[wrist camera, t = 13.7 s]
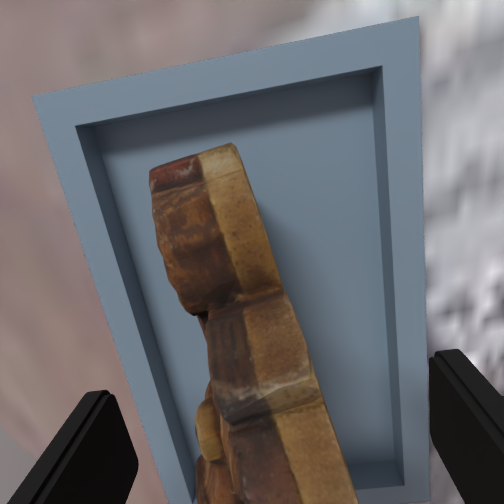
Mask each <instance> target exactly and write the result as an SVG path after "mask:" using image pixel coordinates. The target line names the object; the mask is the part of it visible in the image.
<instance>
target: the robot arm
mask: <svg viewBox="0 0 504 504" xmlns="http://www.w3.org/2000/svg"><path fill="white" fill-rule="evenodd" d="M429 401H430V434H431V438H432V442H433V444H434V446H435V448H436V450H437V452H438V454H439V456H440V458H441V459H442V461H443V463H444V465H445V467H446V469H447V471H448V472H449V474H450V476H451V478H452V480H453V482H454V484H455V486H456V487H457V489H458V491H459V493H460V495H461V497H462V499H463V500H464V502H465V504H504V396H501V395H500V394H499V393H498V392H497V390H496V389H495V388H494V387H493V386H492V385H491V384H490V383H489V382H488V380H487V379H486V378H485V377H484V376H483V375H482V374H481V373H480V372H479V370H478V369H477V368H476V367H475V366H474V365H473V364H472V363H471V362H470V360H469V359H468V358H467V357H466V356H465V355H464V354H463V353H462V352H461V351H460V350H459V349H451V350H443V351H437V352H435V357H431V358H429ZM137 472H138V458H137V455H136V452H135V450H134V447H133V444H132V441H131V439H130V436H129V433H128V430H127V428H126V425H125V422H124V419H123V417H122V414H121V411H120V408H119V406H118V403H117V400H116V398H115V396H114V395H113V394H110V392H109V391H108V390H101V391H92V392H87V393H86V394H85V395H84V396H83V398H82V399H81V400H80V402H79V403H78V405H77V406H76V407H75V409H74V410H73V412H72V413H71V414H70V416H69V417H68V419H67V420H66V421H65V423H64V424H63V426H62V427H61V428H60V430H59V431H58V433H57V434H56V436H55V437H54V438H53V440H52V441H51V443H50V444H49V445H48V447H47V448H46V450H45V451H44V452H43V454H42V455H41V457H40V458H39V459H38V461H37V462H36V464H35V465H34V467H33V468H32V469H31V471H30V472H29V474H28V475H27V476H26V478H25V479H24V481H23V482H22V483H21V485H20V486H19V488H18V489H17V490H16V492H15V493H14V495H13V496H12V497H11V499H10V500H9V502H8V503H7V504H125V503H126V500H127V498H128V495H129V493H130V490H131V488H132V485H133V483H134V480H135V477H136V475H137Z"/></svg>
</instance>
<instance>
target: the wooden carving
mask: <svg viewBox="0 0 504 504" xmlns="http://www.w3.org/2000/svg"><path fill="white" fill-rule="evenodd" d="M149 187H150V191H151V197H152V217H153V220H154V224H155V231H156V240H157V246H158V248H159V250H160V253H161V255H162V257H163V261H164V266H165V270H166V273H167V277H168V281H169V283H170V284H171V285H172V287H173V288H174V289H175V291H176V292H177V295H178V299H179V302H180V303H181V305H182V306H183V308H184V309H185V311H186V312H188V313H189V314H191V315H192V316H197V318H198V321H199V323H200V326H201V328H202V331H203V334H204V337H205V340H206V342H207V353H208V367H209V374H210V381H209V383H208V385H207V389H206V392H205V399H204V401H202V402H201V404H200V405H199V406H198V409H197V412H196V415H195V418H194V421H195V433H196V437H197V441H198V444H199V448H200V452H201V453H202V454H201V455H200V456H199V457H198V459H197V461H196V463H195V478H196V498H197V504H359V501H358V498H357V495H356V491H355V488H354V485H353V482H352V479H351V476H350V473H349V470H348V467H347V464H346V461H345V458H344V456H343V453H342V450H341V447H340V444H339V441H338V438H337V435H336V432H335V429H334V426H333V423H332V420H331V417H330V414H329V411H328V409H327V406H326V403H325V400H324V397H323V394H322V391H321V388H320V385H319V382H318V379H317V376H316V372H315V369H314V366H313V363H312V360H311V357H310V354H309V351H308V348H307V345H306V342H305V339H304V336H303V333H302V331H301V328H300V325H299V322H298V319H297V317H296V314H295V311H294V309H293V306H292V304H291V302H290V299H289V297H288V295H287V292H285V291H284V288H283V284H282V281H281V278H280V275H279V271H278V268H277V265H276V261H275V258H274V255H273V252H272V248H271V245H270V242H269V239H268V236H267V233H266V230H265V227H264V223H263V220H262V217H261V214H260V211H259V208H258V205H257V202H256V199H255V196H254V194H253V191H252V188H251V185H250V182H249V179H248V176H247V173H246V170H245V168H244V165H243V162H242V160H241V157H240V155H239V152H238V150H237V147H236V146H235V145H234V144H233V143H231V142H230V143H227V144H224V145H221V146H218V147H215V148H212V149H209V150H206V151H203V152H200V153H197V154H193V155H189V156H186V157H183V158H180V159H177V160H174V161H171V162H168V163H165V164H162V165H159V166H157V167H154V168H152V169H151V170H149Z"/></svg>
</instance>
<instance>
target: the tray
mask: <svg viewBox="0 0 504 504" xmlns="http://www.w3.org/2000/svg"><path fill="white" fill-rule="evenodd" d="M31 97H32V100H33V103H34V105H35V108H36V111H37V114H38V117H39V120H40V123H41V126H42V129H43V132H44V135H45V138H46V141H47V144H48V147H49V150H50V153H51V156H52V159H53V162H54V165H55V168H56V171H57V174H58V177H59V179H60V182H61V185H62V188H63V191H64V194H65V197H66V200H67V203H68V206H69V209H70V212H71V215H72V218H73V221H74V224H75V227H76V230H77V233H78V236H79V239H80V242H81V245H82V248H83V251H84V253H85V256H86V259H87V262H88V265H89V268H90V271H91V274H92V277H93V280H94V283H95V286H96V289H97V292H98V295H99V298H100V301H101V304H102V307H103V310H104V313H105V316H106V319H107V322H108V325H109V327H110V330H111V333H112V336H113V339H114V342H115V345H116V348H117V351H118V354H119V357H120V360H121V363H122V366H123V369H124V372H125V375H126V378H127V381H128V384H129V387H130V390H131V393H132V396H133V398H134V401H135V404H136V407H137V410H138V413H139V416H140V419H141V422H142V425H143V428H144V431H145V434H146V437H147V440H148V443H149V446H150V449H151V452H152V455H153V458H154V461H155V464H156V467H157V470H158V472H159V475H160V478H161V481H162V484H163V487H164V490H165V493H166V496H167V499H168V502H169V504H197V498H196V478H195V463H196V461H197V459H198V457H199V456H200V455H201V454H202V453H201V452H200V448H199V444H198V441H197V437H196V433H195V421H194V418H195V415H196V412H197V409H198V406H199V405H200V404H201V402H202V401H204V399H205V392H206V389H207V385H208V383H209V381H210V374H209V367H208V353H207V342H206V340H205V337H204V334H203V331H202V328H201V326H200V323H199V321H198V318H197V316H192V315H191V314H189V313H188V312H186V311H185V309H184V308H183V306H182V305H181V303H180V302H179V299H178V295H177V292H176V291H175V289H174V288H173V287H172V285H171V284H170V283H169V281H168V277H167V273H166V270H165V266H164V261H163V257H162V255H161V253H160V250H159V248H158V246H157V240H156V231H155V224H154V220H153V217H152V197H151V191H150V187H149V170H151V169H152V168H154V167H157V166H159V165H162V164H165V163H168V162H171V161H174V160H177V159H180V158H183V157H186V156H189V155H193V154H197V153H200V152H203V151H206V150H209V149H212V148H215V147H218V146H221V145H224V144H227V143H230V142H231V143H233V144H234V145H235V146H236V147H237V150H238V152H239V155H240V157H241V160H242V162H243V165H244V168H245V170H246V173H247V176H248V179H249V182H250V185H251V188H252V191H253V194H254V196H255V199H256V202H257V205H258V208H259V211H260V214H261V217H262V220H263V223H264V227H265V230H266V233H267V236H268V239H269V242H270V245H271V248H272V252H273V255H274V258H275V261H276V265H277V268H278V271H279V275H280V278H281V281H282V284H283V288H284V291H285V292H287V295H288V297H289V299H290V302H291V304H292V306H293V309H294V311H295V314H296V317H297V319H298V322H299V325H300V328H301V331H302V333H303V336H304V339H305V342H306V345H307V348H308V351H309V354H310V357H311V360H312V363H313V366H314V369H315V372H316V376H317V379H318V382H319V385H320V388H321V391H322V394H323V397H324V400H325V403H326V406H327V409H328V411H329V414H330V417H331V420H332V423H333V426H334V429H335V432H336V435H337V438H338V441H339V444H340V447H341V450H342V453H343V456H344V458H345V461H346V464H347V467H348V470H349V473H350V476H351V479H352V482H353V485H354V488H355V491H356V495H357V498H358V501H359V504H403V503H414V502H426V501H430V465H429V423H428V380H427V338H426V295H425V253H424V211H423V168H422V126H421V83H420V41H419V16H416V17H411V18H406V19H401V20H397V21H392V22H387V23H382V24H377V25H372V26H368V27H363V28H358V29H353V30H348V31H343V32H339V33H334V34H329V35H324V36H319V37H314V38H310V39H305V40H300V41H295V42H290V43H285V44H281V45H276V46H271V47H266V48H261V49H256V50H252V51H247V52H242V53H237V54H232V55H227V56H223V57H218V58H213V59H208V60H203V61H198V62H194V63H189V64H184V65H179V66H174V67H170V68H165V69H160V70H155V71H150V72H145V73H141V74H136V75H131V76H126V77H121V78H116V79H112V80H107V81H102V82H97V83H92V84H87V85H83V86H78V87H73V88H68V89H63V90H58V91H54V92H49V93H44V94H39V95H34V96H31Z"/></svg>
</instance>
